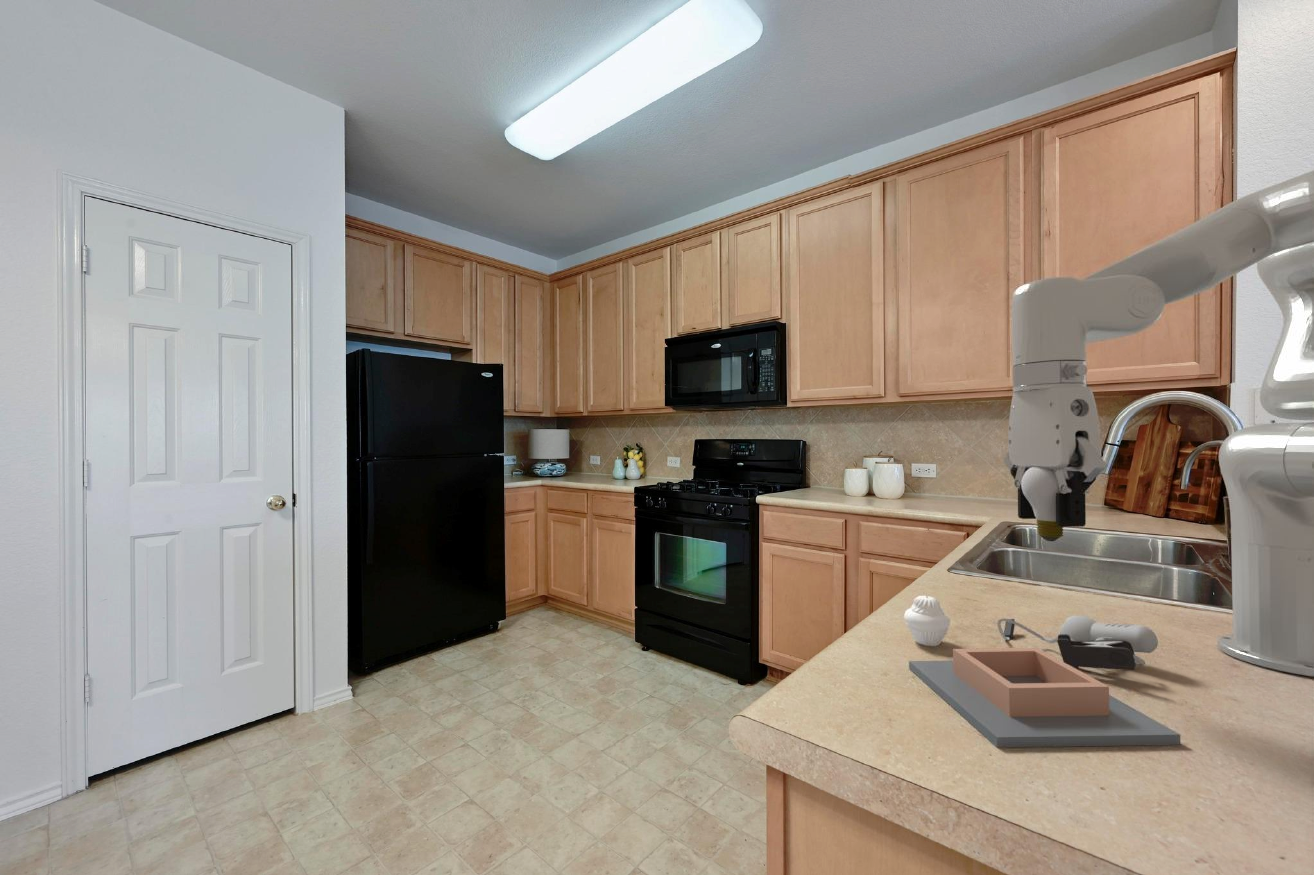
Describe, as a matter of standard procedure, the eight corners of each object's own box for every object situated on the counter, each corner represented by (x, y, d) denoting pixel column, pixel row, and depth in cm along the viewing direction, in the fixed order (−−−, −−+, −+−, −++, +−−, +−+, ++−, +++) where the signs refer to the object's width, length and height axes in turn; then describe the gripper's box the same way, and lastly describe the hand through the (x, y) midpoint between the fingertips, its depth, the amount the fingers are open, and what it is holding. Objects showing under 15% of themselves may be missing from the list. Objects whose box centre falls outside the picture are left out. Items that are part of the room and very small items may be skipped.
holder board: (1045, 666, 70) (1044, 636, 70) (1180, 744, 52) (1179, 703, 52) (909, 668, 70) (908, 638, 70) (997, 747, 52) (996, 706, 52)
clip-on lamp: (984, 665, 78) (1137, 685, 63) (971, 621, 79) (1119, 630, 64) (1024, 641, 84) (1172, 654, 69) (1012, 600, 85) (1155, 604, 70)
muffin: (960, 646, 77) (959, 598, 77) (930, 653, 75) (929, 603, 75) (924, 632, 83) (923, 587, 83) (895, 638, 81) (894, 592, 81)
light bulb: (1084, 547, 63) (1082, 462, 63) (1023, 542, 66) (1022, 462, 66) (1075, 539, 68) (1074, 461, 68) (1020, 535, 71) (1019, 460, 71)
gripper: (1140, 370, 59) (1142, 533, 59) (1028, 386, 76) (1029, 512, 76) (1074, 370, 59) (1076, 534, 58) (976, 386, 76) (978, 513, 76)
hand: (1050, 520), depth 67 cm, fingers closed on light bulb, 5 cm apart
